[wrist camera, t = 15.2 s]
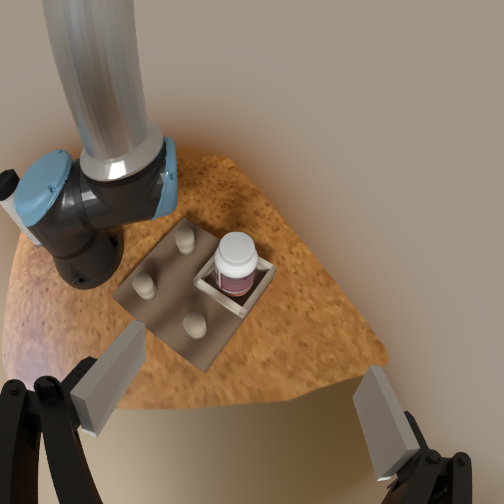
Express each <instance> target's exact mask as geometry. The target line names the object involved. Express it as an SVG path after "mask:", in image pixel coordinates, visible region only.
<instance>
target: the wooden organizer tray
mask: <svg viewBox="0 0 504 504" xmlns="http://www.w3.org/2000/svg"><path fill="white" fill-rule="evenodd" d="M220 241H221V240H219V239H218V238H216V237H215V236H213V235H212V234H210V233H208V232H207V231H205V230H204V229H202V228H200V227H199V226H197V225H196V224H194V223H193V222H191V221H189V220H188V219H186V218H185V217H184V218H183V219H182V220H181V221H180V222H179V223H178V224H177V225H176V226H175V227H174V228H173V229H172V230H171V231H170V232H169V233H168V234H167V235H166V236H165V237H164V238H163V239H162V240H161V241H160V242H159V244H158V245H157V246H156V247H155V248H154V249H153V250H152V251H151V252H150V253H149V254H148V255H147V256H146V257H145V259H144V260H143V261H142V262H141V263H140V264H139V265H138V266H137V267H136V268H135V270H134V271H133V272H132V273H131V274H130V275H129V276H128V277H127V278H126V280H125V281H124V282H123V283H122V284H121V285H120V286H119V288H118V289H117V290H116V291H115V292H114V293H113V295H112V297H113V298H114V299H115V300H116V301H117V302H118V303H119V304H120V305H121V306H122V307H123V308H124V309H125V310H127V311H128V312H129V313H130V314H131V315H132V316H133V317H134V318H136V319H137V320H138V321H139V322H142V323H145V327H146V328H147V329H148V330H150V331H151V332H152V333H153V334H154V335H156V336H157V337H158V338H159V339H161V340H162V341H163V342H164V343H166V344H167V345H168V346H169V347H171V348H172V349H173V350H174V351H176V352H177V353H178V354H180V355H181V356H182V357H184V358H185V359H186V360H188V361H189V362H190V363H192V364H193V365H194V366H196V367H197V368H199V369H200V370H201V371H203V372H204V373H206V372H207V370H208V369H209V368H210V366H211V365H212V364H213V362H214V361H215V359H216V358H217V357H218V355H219V354H220V353H221V351H222V350H223V349H224V347H225V346H226V345H227V343H228V342H229V340H230V339H231V338H232V336H233V335H234V334H235V332H236V331H237V329H238V328H239V327H240V325H241V324H242V322H243V321H244V320H245V318H246V317H247V315H248V314H249V313H250V311H251V310H252V308H253V307H254V306H255V304H256V303H257V301H258V300H259V299H260V297H261V296H262V294H263V293H264V291H265V290H266V289H267V287H268V286H269V284H270V283H271V281H272V279H273V276H274V274H275V271H276V269H277V267H275V266H274V265H272V264H270V263H269V262H267V261H266V260H264V259H262V258H261V257H259V256H258V262H257V267H256V271H255V276H254V280H253V284H252V287H251V288H250V290H249V291H248V292H247V293H245V294H244V295H241V296H237V297H232V296H228V295H226V294H224V293H223V292H221V291H220V289H219V288H218V286H217V284H216V278H215V262H214V255H215V252H216V249H217V248H218V246H219V244H220Z"/></svg>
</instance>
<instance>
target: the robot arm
mask: <svg viewBox="0 0 504 504" xmlns="http://www.w3.org/2000/svg"><path fill="white" fill-rule="evenodd" d="M42 4H43V10H44V16H45V21H46V26H47V31H48V35H49V40H50V44H51V48H52V52H53V56H54V59H55V63H56V67H57V70H58V74H59V77H60V80H61V84H62V87H63V89H64V93H65V96H66V99H67V102H68V105H69V108H70V110H71V113H72V116H73V119H74V121H75V124H76V127H77V129H78V132H79V134H80V137H81V139H82V142H83V144H84V148H83V150H82V153H81V155H80V158H78V159H75V160H72V157H71V155H70V154H68V152H66V151H63V150H55V151H52V152H49V153H48V154H46V155H44V156H42V157H41V158H40V159H38V160H37V161H36V162H35V163H34V164H33V165H32V166H31V167H30V168H29V169H28V170H27V171H26V173H25V174H24V175H23V177H22V178H21V180H20V182H19V183H18V186H17V188H16V191H15V195H14V208H15V210H16V212H17V214H18V215H19V217H20V218H21V220H22V223H23V224H24V225H25V226H26V227H27V228H28V230H29V231H30V232H31V233H32V234H33V235H34V236H35V237H36V239H37V240H38V241H39V242H40V243H41V244H42V245H43V246H44V247H45V248H46V249H47V250H48V251H49V252H50V254H51V255H52V257H53V260H54V263H55V265H56V268H57V271H58V273H59V274H60V276H61V277H62V278H63V280H65V281H66V282H67V283H68V284H69V285H70V286H72V287H74V288H77V289H82V290H86V289H92V288H95V287H97V286H99V285H101V284H103V283H104V282H106V281H107V280H108V279H109V278H110V277H111V276H112V275H113V274H114V272H115V271H116V270H117V268H118V266H119V264H120V262H121V259H122V254H123V243H122V239H121V236H120V234H119V233H118V231H117V229H116V228H115V227H117V226H122V225H127V224H132V223H137V222H142V221H147V220H154V219H156V218H158V217H161V216H165V215H169V214H171V213H172V212H173V211H174V210H175V209H176V206H177V200H178V181H177V160H176V149H175V143H174V140H173V139H172V138H170V137H165V136H164V137H163V135H162V132H161V130H160V129H159V127H158V126H157V125H155V124H154V123H152V122H150V121H148V117H147V111H146V105H145V99H144V93H143V87H142V81H141V73H140V65H139V57H138V49H137V40H136V29H135V18H134V5H133V0H42ZM144 362H145V323H142V322H139V321H136V320H133V321H132V322H131V323H130V324H129V325H128V326H127V327H126V328H125V329H124V331H123V332H122V333H121V334H120V335H119V336H118V337H117V338H116V340H115V341H114V342H113V343H112V344H111V345H110V346H109V347H108V349H107V350H106V351H105V352H104V353H103V354H102V355H101V357H100V358H99V359H98V360H97V359H95V358H92V357H90V356H89V357H87V358H85V359H83V360H81V361H80V362H79V363H78V365H77V366H76V368H74V369H73V370H72V372H70V373H69V374H68V375H67V377H66V378H65V379H64V380H63V381H62V382H61V383H60V382H59V381H58V380H57V379H56V378H54V377H52V376H42V377H40V378H38V379H37V380H36V381H35V382H34V386H33V387H34V390H35V392H34V391H30V390H27V389H26V387H25V385H24V383H23V382H22V381H20V380H17V379H12V380H9V381H7V382H6V383H5V384H4V386H3V388H2V391H1V394H0V504H38V462H39V449H40V439H41V432H42V433H43V439H44V444H45V450H46V455H47V460H48V464H49V468H50V473H51V477H52V480H53V484H54V487H55V490H56V494H57V497H58V500H59V503H60V504H103V503H102V501H101V498H100V496H99V493H98V491H97V489H96V486H95V483H94V481H93V478H92V475H91V473H90V470H89V467H88V464H87V461H86V458H85V455H84V451H83V448H82V445H81V441H80V438H79V434H78V431H77V429H78V427H79V426H80V424H81V426H82V429H83V431H84V432H86V433H88V434H91V435H92V436H94V437H98V435H99V434H100V432H101V430H102V429H103V427H104V425H105V424H106V422H107V420H108V419H109V417H110V416H111V414H112V412H113V411H114V409H115V407H116V406H117V404H118V403H119V401H120V399H121V398H122V396H123V395H124V393H125V391H126V390H127V388H128V387H129V385H130V384H131V382H132V380H133V379H134V377H135V376H136V374H137V373H138V371H139V369H140V368H141V366H142V365H143V363H144ZM353 401H354V404H355V407H356V410H357V413H358V417H359V419H360V423H361V426H362V430H363V433H364V436H365V440H366V443H367V446H368V450H369V453H370V457H371V460H372V464H373V467H374V471H375V475H376V478H377V481H379V480H386V479H390V478H391V477H392V476H393V475H394V474H395V473H397V477H398V478H397V479H396V480H394V481H393V482H392V483H391V484H390V485H389V486H388V487H387V489H388V488H390V487H391V488H390V490H389V492H388V493H387V495H386V497H385V499H384V500H383V502H382V503H381V504H472V466H471V459H470V457H469V456H468V455H467V454H466V453H463V452H458V453H456V454H455V455H454V456H453V457H452V458H444V457H441V455H440V454H439V453H438V452H437V451H435V450H431V449H429V448H428V446H427V444H426V441H425V440H424V438H423V435H422V433H421V431H419V430H420V429H419V427H418V426H417V423H416V421H415V419H414V417H413V416H412V415H411V414H410V413H409V412H408V411H405V412H403V410H402V408H401V406H400V404H399V402H398V400H397V398H396V396H395V394H394V392H393V390H392V388H391V386H390V384H389V382H388V380H387V378H386V376H385V374H384V372H383V370H382V368H381V366H375V365H369V367H368V369H367V371H366V373H365V375H364V377H363V379H362V381H361V383H360V385H359V387H358V389H357V391H356V392H355V394H354V396H353Z"/></svg>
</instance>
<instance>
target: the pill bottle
mask: <svg viewBox="0 0 504 504" xmlns="http://www.w3.org/2000/svg"><path fill="white" fill-rule="evenodd" d="M214 262H215V278H216V284H217V286H218V288H219V289H220V291H221V292H223V293H224V294H226V295H228V296H232V297H237V296H241V295H244V294H245V293H247V292H248V291H249V290H250V288H251V287H252V284H253V280H254V276H255V271H256V267H257V262H258V255H257V251H256V249H255V245H254V242H253V240H252V239H251V237H250V236H248V235H247V234H245V233H243V232H231V233H228V234H226V235H225V236H224V237H223V238H222V239H221V241H220V244H219V246H218V248H217V249H216V252H215V255H214Z"/></svg>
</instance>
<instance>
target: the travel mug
mask: <svg viewBox="0 0 504 504" xmlns="http://www.w3.org/2000/svg"><path fill="white" fill-rule="evenodd" d="M19 182H20V178H19V177H18V176H17V174H16V172H15V171H14V170H13V169H11V170H8V171H7V170H6V171H4V172H2V173H1V174H0V204H1V205H2V206H3V208H4V209H5V210H6V211H7V213H8V214H9V215H10V217H11V218H12V219H13V220H14V221H15V222H16V224H17V225H18V226H19V227H20V229H21V230H22V231H23V232H24V233H25V234H26V236H27V237H28V238H29V239H30V240H31V241H32V242H33V243H34V245H35V246H38V247H41V246H43V245H42V244H41V243H40V242H39V241H38V240H37V239H36V237H35V236H34V235H33V234H32V233H31V232H30V231H29V230H28V228H27V227H26V226H25V225H24V224H23V223H22V220H21V218H20V217H19V215H18V214H17V212H16V210H15V208H14V195H15V191H16V188H17V186H18V183H19Z"/></svg>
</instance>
